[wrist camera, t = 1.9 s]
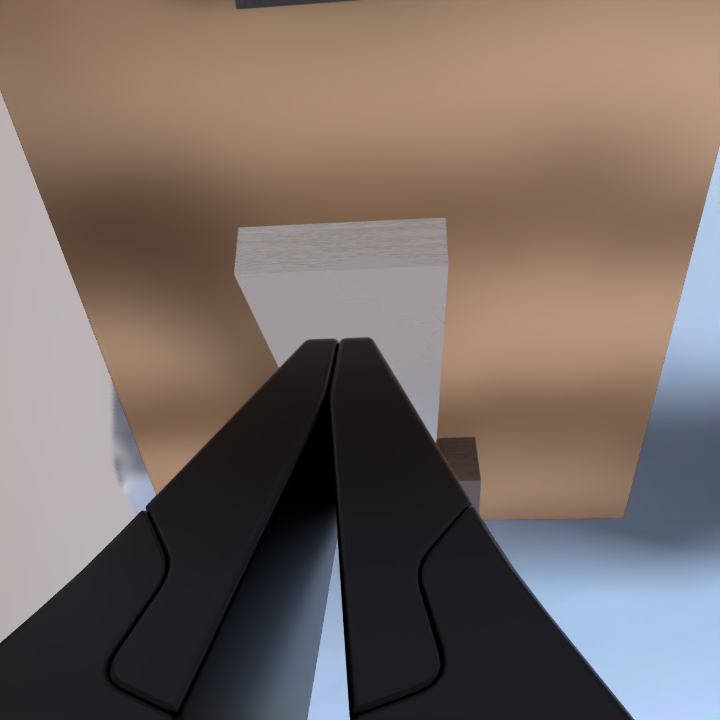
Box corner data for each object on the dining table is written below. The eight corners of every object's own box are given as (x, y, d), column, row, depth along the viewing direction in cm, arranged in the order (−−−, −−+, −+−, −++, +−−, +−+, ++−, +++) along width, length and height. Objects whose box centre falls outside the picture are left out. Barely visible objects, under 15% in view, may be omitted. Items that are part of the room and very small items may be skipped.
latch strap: (431, 468, 22) (433, 496, 21) (340, 470, 22) (339, 497, 22) (445, 217, 9) (449, 271, 9) (237, 227, 10) (233, 280, 9)
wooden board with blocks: (601, 454, 25) (623, 518, 23) (187, 463, 26) (167, 524, 24) (784, -422, 12) (883, -492, 9) (-69, -322, 13) (-173, -360, 11)
